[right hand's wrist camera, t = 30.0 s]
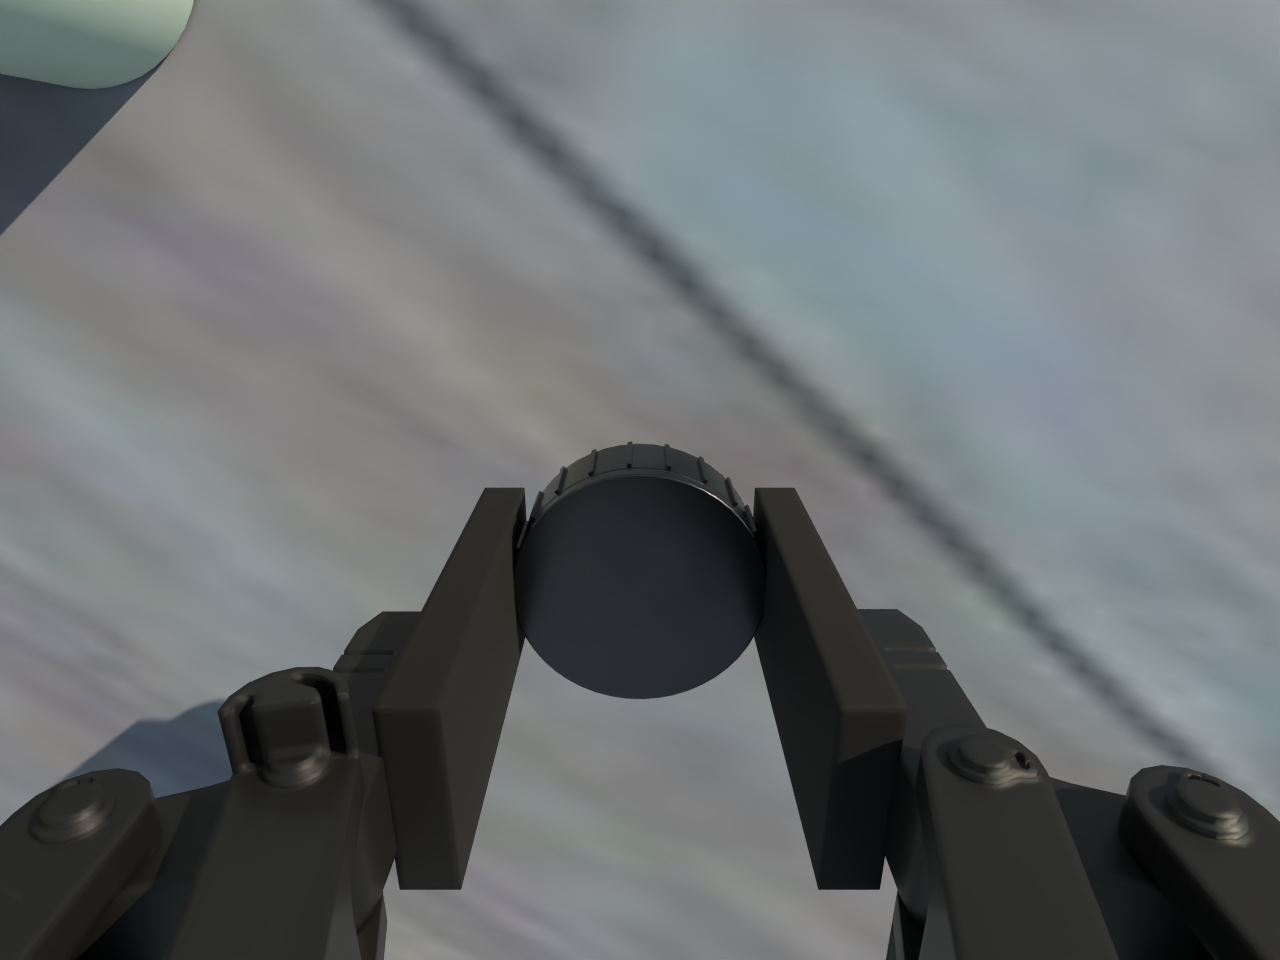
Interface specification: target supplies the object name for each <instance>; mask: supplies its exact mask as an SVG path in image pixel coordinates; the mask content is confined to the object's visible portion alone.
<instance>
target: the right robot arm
mask: <svg viewBox="0 0 1280 960" xmlns="http://www.w3.org/2000/svg"><path fill="white" fill-rule="evenodd" d="M753 520H754V522H755V525H756V528H757V531H758V535H756V538H757V541H758V544H759V547H760V550H761V553H762V556H763V559H764V562H765V568H766V590H765V604H764V613H763V617H762V620H761V622H760V625H759V627H758V629H757V632H756V634H755V635H754V638H755V642H756V646H757V650H758V654H759V658H760V662H761V666H762V670H763V673H764V677H765V681H766V685H767V689H768V693H769V697H770V701H771V705H772V709H773V713H774V717H775V721H776V725H777V728H778V732H779V736H780V740H781V744H782V748H783V752H784V756H785V760H786V764H787V768H788V772H789V776H790V780H791V783H792V787H793V791H794V795H795V799H796V803H797V807H798V811H799V815H800V819H801V823H802V827H803V831H804V835H805V839H806V842H807V846H808V850H809V854H810V858H811V862H812V866H813V870H814V874H815V878H816V882H817V886H818V890H880V885H881V878H882V872H883V866H884V859H885V856H886V859H887V862H888V864H889V867H890V870H891V872H892V875H893V878H894V881H895V883H896V886H897V889H898V891H897V897H896V903H895V909H894V914H893V920H892V926H891V932H890V938H889V944H888V950H887V957H886V960H896V959H897V960H1280V822H1279V821H1278V820H1277V819H1276V818H1275V817H1274V816H1273V815H1272V814H1271V813H1270V812H1269V811H1268V810H1267V809H1265V808H1264V807H1263V806H1261V805H1260V804H1259V803H1258V802H1256V801H1255V800H1254V799H1252V798H1251V797H1250V796H1248V795H1247V794H1246V793H1245V792H1243V791H1241V790H1239V789H1237V788H1235V787H1233V786H1231V785H1230V784H1228V783H1226V782H1224V781H1222V780H1220V779H1218V778H1216V777H1213V776H1210V775H1207V774H1205V773H1201V772H1198V771H1194V770H1191V769H1188V768H1181V767H1173V766H1164V765H1160V766H1155V767H1149V768H1143V769H1141V770H1140V771H1139V772H1138V773H1137V774H1136V775H1134V776H1133V777H1132V778H1131V780H1130V784H1129V787H1128V790H1127V794H1126V796H1125V795H1120V794H1116V793H1111V792H1107V791H1102V790H1098V789H1094V788H1089V787H1085V786H1080V785H1076V784H1071V783H1068V782H1065V781H1061V780H1058V779H1055V778H1051V777H1049V776H1048V773H1047V771H1046V770H1045V768H1044V767H1043V765H1042V764H1041V762H1040V761H1039V759H1038V757H1037V756H1036V755H1035V754H1034V753H1032V752H1031V751H1030V750H1029V749H1027V748H1026V747H1025V746H1024V745H1022V744H1021V743H1020V742H1019V741H1017V740H1015V739H1013V738H1011V737H1009V736H1006V735H1004V734H1002V733H1000V732H998V731H996V730H992V729H988V728H987V727H986V726H985V724H984V723H983V721H982V720H981V718H980V717H979V715H978V713H977V712H976V710H975V709H974V707H973V706H972V704H971V703H970V701H969V699H968V698H967V696H966V695H965V693H964V692H963V690H962V689H961V687H960V685H959V684H958V682H957V681H956V679H955V678H954V676H953V675H952V673H951V671H950V670H947V665H946V664H945V662H944V661H943V659H942V657H941V656H940V654H939V653H938V652H936V650H935V649H936V648H935V647H934V645H933V643H932V642H931V640H930V639H929V637H928V636H927V634H926V633H925V631H924V629H923V628H922V627H921V626H920V625H918V624H917V623H916V622H914V621H913V620H911V619H910V618H909V617H907V616H906V615H905V614H903V613H902V612H900V611H899V610H898V609H857V608H856V606H855V604H854V602H853V600H852V598H851V596H850V594H849V593H848V591H847V589H846V587H845V585H844V583H843V581H842V579H841V577H840V575H839V573H838V571H837V569H836V567H835V565H834V563H833V562H832V560H831V558H830V556H829V554H828V552H827V550H826V548H825V546H824V544H823V542H822V540H821V538H820V536H819V534H818V532H817V531H816V529H815V527H814V525H813V523H812V521H811V519H810V517H809V515H808V513H807V511H806V509H805V507H804V505H803V503H802V501H801V500H800V498H799V496H798V494H797V492H796V490H795V488H755V497H754V513H753ZM525 521H526V505H525V489H524V488H485V489H484V491H483V493H482V495H481V497H480V499H479V500H478V502H477V504H476V506H475V508H474V510H473V512H472V514H471V516H470V518H469V520H468V522H467V524H466V526H465V528H464V530H463V531H462V533H461V535H460V537H459V539H458V541H457V543H456V545H455V547H454V549H453V551H452V553H451V555H450V557H449V559H448V561H447V562H446V564H445V566H444V568H443V570H442V572H441V574H440V576H439V578H438V580H437V582H436V584H435V586H434V588H433V590H432V592H431V593H430V595H429V597H428V599H427V601H426V603H425V605H424V607H423V609H422V611H421V612H381V613H380V614H378V615H377V616H376V617H374V618H373V619H372V620H370V621H369V622H368V623H366V624H365V625H363V626H362V627H361V628H359V629H358V630H357V632H356V633H355V635H354V636H353V638H352V639H351V641H350V643H349V644H348V646H347V647H346V649H345V650H344V655H341V657H340V658H339V660H338V661H337V663H336V664H335V666H334V668H333V671H332V670H328V669H324V668H321V667H296V668H291V669H287V670H282V671H278V672H273V673H270V674H268V675H266V676H263V677H261V678H259V679H256V680H254V681H252V682H249V683H248V684H246V685H245V686H243V687H242V688H240V689H239V690H238V691H236V692H235V693H233V694H232V695H231V696H229V698H228V699H227V700H226V701H225V703H224V704H223V705H222V707H221V708H220V709H219V711H218V715H219V719H220V723H221V727H222V731H223V735H224V739H225V743H226V747H227V751H228V755H229V759H230V763H231V767H232V771H233V774H232V777H231V779H230V780H229V781H225V782H222V783H219V784H215V785H212V786H209V787H204V788H200V789H196V790H191V791H187V792H182V793H178V794H173V795H169V796H165V797H160V798H156V799H154V796H153V792H152V789H151V786H150V782H149V781H148V780H147V779H146V778H144V777H143V776H142V775H141V774H140V773H139V772H136V771H130V770H124V769H119V768H118V769H110V770H101V771H93V772H90V773H87V774H84V775H80V776H78V777H74V778H71V779H68V780H65V781H63V782H61V783H59V784H57V785H55V786H53V787H52V788H50V789H48V790H46V791H44V792H42V793H40V794H38V795H36V796H35V797H34V798H32V799H31V800H30V801H29V802H27V803H26V804H25V805H24V806H22V807H21V808H20V809H18V810H17V811H16V812H15V813H13V814H12V815H11V816H10V817H9V818H8V819H7V820H6V821H5V822H4V823H3V824H2V825H1V826H0V960H384V951H385V940H386V929H387V916H386V909H385V903H384V897H383V888H384V886H385V883H386V880H387V878H388V875H389V872H390V869H391V867H392V864H393V861H394V858H395V862H396V869H397V875H398V882H399V888H400V890H461V888H462V884H463V880H464V876H465V872H466V868H467V864H468V860H469V856H470V852H471V848H472V844H473V840H474V837H475V833H476V829H477V825H478V821H479V817H480V813H481V809H482V805H483V801H484V797H485V793H486V789H487V785H488V782H489V778H490V774H491V770H492V766H493V762H494V758H495V754H496V750H497V746H498V742H499V738H500V734H501V730H502V727H503V723H504V719H505V715H506V711H507V707H508V703H509V699H510V695H511V691H512V687H513V683H514V679H515V675H516V672H517V668H518V664H519V660H520V656H521V652H522V648H523V644H524V640H525V634H524V632H523V630H522V628H521V626H520V624H519V621H518V618H517V615H516V611H515V598H514V583H513V570H514V564H515V561H516V557H517V554H518V552H516V546H517V543H518V540H519V537H520V534H521V531H522V529H523V526H524V523H525Z"/></svg>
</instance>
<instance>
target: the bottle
mask: <svg viewBox="0 0 1280 960" xmlns="http://www.w3.org/2000/svg"><path fill="white" fill-rule="evenodd" d="M193 2H194V0H0V74H5V75H10V76H15V77H20V78H25V79H30V80H36V81H41V82H46V83H51V84H56V85H62V86H67V87H72V88H82V89H99V88H109V87H113V86H117V85H121V84H125V83H127V82H130V81H132V80H134V79H136V78H139V77H141V76H142V75H144V74H145V73H147V72H148V71H150V70H151V69H153V68H154V67H156V66H157V65H158V64H159V63H160V62H161V61H162V60H163V59H164V58H165V57H166V56H167V55H168V54H169V52H170V51H171V50H172V48H173V47H174V46H175V44H176V43H177V42H178V40H179V38H180V36H181V34H182V32H183V31H184V29H185V27H186V24H187V22H188V19H189V16H190V13H191V11H192V7H193Z"/></svg>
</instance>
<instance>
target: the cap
mask: <svg viewBox="0 0 1280 960" xmlns="http://www.w3.org/2000/svg"><path fill="white" fill-rule="evenodd" d="M756 535H758V531H757V528H756V525H755V522H754V520H753V517H752V514H751V511H750V508H749V506H748V505H746V506H745V505H744V503H743V501H742V499H741V497H740V496H739V495H738V493H737V492H736V490H735V489H734V488H733V485H732V482H731V480H730V479H729V477H728V478H727V479H725V478H724V477H723V475H721V474H720V473H719V472H718V471H716V470H715V469H714V468H713V467H711V466H710V465H708V464H707V463H705V462H704V459H703V458H702V457H700V456H699V458H697V457H694V456H692V455H690V454H688V453H685V452H683V451H680V450H676V449H673V448H670V447H669V445H668V444H665V446H659V445H651V444H632V442H628V445H620V446H615V447H610V448H606V449H603V450H600V451H597V450H596V449H595V450H592V452H591V454H589V455H587V456H585V457H583V458H581V459H579V460H577V461H576V462H574V463H573V464H571V465H570V466H568V467H567V468H565V467H564V466H563V467H562V468H561V470H560V473H559V474H558V475H557V476H556V477H555V478H554V479H553V480H552V481H551V482H550V483H549V485H548V486H547V487H546V488H545V489H544V491H543V492H541V491H539V493H538V494H537V497H536V500H535V503H534V506H533V509H532V512H531V515H530V518H529V521H525V523H524V526H523V529H522V531H521V534H520V537H519V540H518V543H517V546H516V552H518V554H517V557H516V561H515V564H514V570H513V583H514V598H515V611H516V615H517V618H518V621H519V624H520V626H521V628H522V630H523V632H524V634H525V637H526V638H527V640H528V641H529V643H530V644H531V646H532V647H533V649H534V650H535V651H536V652H537V654H538V655H539V656H540V657H541V658H542V659H543V660H544V661H545V662H546V663H547V664H548V665H549V666H550V667H551V668H553V669H554V670H555V671H556V672H558V673H559V674H561V675H562V676H564V677H565V678H566V679H568V680H570V681H572V682H574V683H576V684H577V685H579V686H581V687H584V688H586V689H589V690H592V691H594V692H597V693H601V694H605V695H609V696H614V697H620V698H629V699H649V698H660V697H665V696H671V695H675V694H678V693H682V692H685V691H688V690H691V689H693V688H695V687H698V686H700V685H702V684H704V683H706V682H708V681H709V680H711V679H713V678H715V677H716V676H718V675H719V674H720V673H722V672H723V671H724V670H726V669H727V668H728V667H729V666H730V665H731V664H732V663H733V662H734V661H736V660H737V659H738V658H739V656H740V655H741V654H742V653H743V652H744V650H745V649H746V648H747V647H748V645H749V643H750V642H751V640H752V639H753V637H754V635H755V634H756V632H757V629H758V627H759V625H760V622H761V620H762V617H763V613H764V604H765V590H766V568H765V562H764V559H763V556H762V553H761V550H760V547H759V544H758V541H757V538H756Z"/></svg>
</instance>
